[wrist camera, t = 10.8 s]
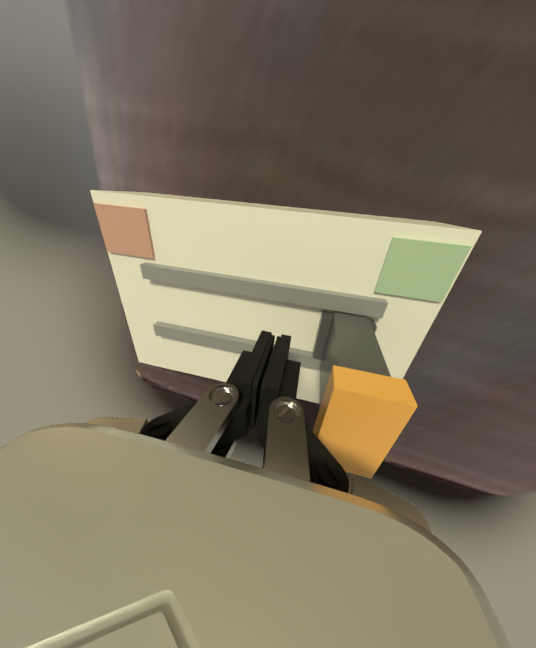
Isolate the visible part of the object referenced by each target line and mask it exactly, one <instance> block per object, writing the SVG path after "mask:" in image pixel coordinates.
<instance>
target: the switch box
mask: <svg viewBox="0 0 536 648" xmlns="http://www.w3.org/2000/svg"><path fill="white" fill-rule="evenodd" d="M90 192H91V195H92V199H93V202H94V206H95V210H96V213H97V217H98V220H99V224H100V227H101V231H102V234H103V238H104V241H105V245H106V248H107V252H108V255H109V258H110V262H111V265H112V269H113V272H114V276H115V279H116V283H117V286H118V290H119V293H120V297H121V300H122V304H123V307H124V311H125V315H126V318H127V322H128V325H129V329H130V332H131V336H132V339H133V343H134V346H135V350H136V353H137V357H138V360H139V362H142V363H146V364H150V365H155V366H159V367H163V368H168V369H172V370H176V371H181V372H185V373H189V374H194V375H198V376H202V377H207V378H211V379H215V380H219V381H224V382H226V381H227V380H228V378H229V376H230V374H231V372H232V370H233V368H234V366H235V364H236V363H237V361H238V359H239V357H240V355H241V353H242V352H243V351H244V350H245V351H250V352H252V350H253V348H254V346H255V344H256V342H257V340H258V337H259V335H260V333H261V331H262V330H263V331H268V332H272V335H275V340H274V345H275V342H276V339H277V336H280V337H281V335H282V334H284V335H289V336H291V342H290V348H289V354H288V360H293V361H298V362H301V366H300V373H299V381H298V388H297V396H296V398H297V399H302V400H306V401H310V402H315V403H319V395H320V363H321V359H322V358H317V357H313V348H314V344H315V339H316V335H317V331H318V326H319V322H320V318H321V313H322V311H325V312H331V313H340V314H346V315H352V316H358V317H364V318H369V319H373V320H374V321H375V324H376V326H377V329H376V332H375V335H376V338H377V341H378V343H379V346H380V349H381V351H382V354H383V356H384V359H385V362H386V364H387V367H388V370H389V372H390V375H391V377H394V378H399V379H403V377H404V375H405V373H406V371H407V369H408V368H409V366H410V364H411V362H412V360H413V358H414V356H415V355H416V353H417V351H418V349H419V347H420V345H421V343H422V342H423V340H424V338H425V336H426V334H427V332H428V330H429V329H430V327H431V325H432V323H433V321H434V319H435V317H436V316H437V314H438V312H439V310H440V308H441V306H442V304H443V303H444V301H445V299H446V297H447V295H448V293H449V291H450V290H451V288H452V286H453V284H454V282H455V280H456V278H457V277H458V275H459V273H460V271H461V269H462V267H463V265H464V264H465V262H466V260H467V258H468V256H469V254H470V252H471V251H472V249H473V247H474V245H475V243H476V241H477V239H478V238H479V236H480V234H481V232H482V231H480V230H475V229H470V228H465V227H460V226H455V225H450V224H445V223H440V222H432V221H423V220H413V219H403V218H393V217H383V216H373V215H364V214H354V213H344V212H334V211H324V210H314V209H304V208H295V207H285V206H275V205H265V204H255V203H245V202H236V201H226V200H216V199H206V198H196V197H186V196H176V195H167V194H157V193H147V192H124V191H99V190H90Z"/></svg>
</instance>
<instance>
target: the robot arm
mask: <svg viewBox="0 0 536 648" xmlns="http://www.w3.org/2000/svg"><path fill="white" fill-rule="evenodd" d="M274 340H275V335H272V332H268V331H263V330H262V331H261V333H260V335H259V337H258V340H257V342H256V344H255V346H254V348H253V350H252V352H250V351H245V350H244V351H243V352H242V353H241V355H240V357H239V359H238V361H237V363H236V364H235V366H234V368H233V370H232V372H231V374H230V376H229V378H228V380H227V381H226V383H218V384H215V385H213V386H211V387H210V388H209V389H208V390H207V391H206V392H205V393H204V395H203V396H202V397H201V398H200V399H199V401H197V402H195V403H192V404H190V405H187V406H185V407H182V408H179V409H177V410H175V411H172V412H169V413H167V414H164V415H162V416H159V417H157V418H155V419H153V420H151V421H147V419H146V418H113V417H112V418H111V417H109V418H108V417H102V418H95V419H93V420H90V421H88V422H87V423H65V424H56V425H50V426H45V427H41V428H37V429H34V430H31V431H28V432H25V433H24V434H22V435H20V436H18V437H16V438H14V439H12V440H11V441H9V442H7V443H6V444H5V445H3V446H1V447H0V648H512V646H511V644H510V642H509V640H508V638H507V636H506V633H505V632H504V629H503V627H502V625H501V623H500V621H499V619H498V617H497V615H496V613H495V611H494V609H493V607H492V605H491V603H490V601H489V600H488V598H487V596H486V594H485V593H484V591H483V589H482V587H481V586H480V584H479V582H478V581H477V579H476V578H475V577H474V575H473V574H472V572H471V571H470V569H469V568H468V567H467V566H466V565H465V563H464V562H463V561H462V560H461V559H460V558H459V557H458V556H457V555H456V554H455V553H454V552H453V551H452V550H451V549H450V548H449V547H448V546H446V545H445V544H444V543H443V542H442V541H441V540H439V539H438V538H437V537H435V536H434V535H433V534H432V533H431V531H430V527H429V524H428V522H427V521H426V519H425V517H424V516H423V514H422V513H421V512H420V511H419V510H418V509H417V508H416V507H415V506H413V505H412V504H411V503H409V502H408V501H406V500H404V499H402V498H400V497H398V496H396V495H394V494H392V493H390V492H388V491H386V490H384V489H382V488H380V487H378V486H376V485H374V484H372V483H370V482H369V481H367V480H365V479H363V478H361V477H359V476H357V475H355V476H354V477H353V476H351V475H349V474H347V473H346V472H345V470H344V469H343V467H342V466H341V465H340V463H339V462H338V461H337V460H336V459H335V458H334V456H333V455H332V454H331V453H330V452H329V450H328V449H327V448H326V447H325V446H324V444H323V443H322V442H321V441H320V440H319V438H318V437H317V436H316V435H315V434H314V432H313V431H312V430H311V429H310V428H309V427H308V425H307V424H306V423H305V418H304V410H303V407H302V406H301V404H300V403H299V402H298V401H297V400H296V396H297V388H298V381H299V373H300V366H301V362H298V361H293V360H288V354H289V348H290V342H291V336H289V335H284V334H282V335H281V337H280V336H277V339H276V342H275V345H274ZM257 417H258V422H257V430H259V434H258V440H259V442H260V443H261V445H262V447H263V448H264V454H263V466H262V468H259V467H256V466H252V465H249V464H245V463H242V462H238V461H235V460H231V459H229V458H230V456H231V454H232V452H233V450H234V448H235V446H236V443H237V441H238V439H239V438H241V437H243V436H245V435H248V433H249V430H250V428H251V429H254V427H255V424H256V421H257Z"/></svg>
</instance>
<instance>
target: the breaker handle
mask: <svg viewBox="0 0 536 648" xmlns="http://www.w3.org/2000/svg"><path fill="white" fill-rule="evenodd" d="M376 329H377V326H376V324H375V321H374V320H373V319H369V318H364V317H358V316H352V315H346V314H340V313H331V312H325V311H322V313H321V318H320V322H319V326H318V331H317V335H316V339H315V344H314V348H313V357H317V358H322V359H321V363H320V395H319V413H318V416H317V419H316V423H315V426H314V429H313V432H314V434H315V435H316V436H317V437H318V438H319V440H320V441H321V442H322V443H323V444H324V446H325V447H326V448H327V449H328V450H329V452H330V453H331V454H332V455H333V456H334V458H335V459H336V460H337V461H338V462H339V463H340V465H341V466H342V467H343V469H344V470H345V472H349V473H353V474H357V475H360V476H364V477H367V478H372V476H373V475H374V473H375V472H376V470H377V468H378V467H379V465H380V464H381V462H382V461H383V459H384V458H385V456H386V455H387V453H388V452H389V450H390V449H391V447H392V445H393V444H394V442H395V441H396V439H397V438H398V436H399V435H400V433H401V431H402V430H403V428H404V427H405V425H406V424H407V422H408V421H409V419H410V417H411V416H412V414H413V413H414V411H415V410H416V408H417V407H418V406H417V404H416V402H415V399H414V397H413V395H412V393H411V390H410V388H409V386H408V384H407V382H406V380H404V379H399V378H394V377H391V375H390V372H389V370H388V367H387V364H386V362H385V359H384V356H383V354H382V351H381V349H380V346H379V343H378V341H377V338H376V335H375V332H376Z"/></svg>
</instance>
